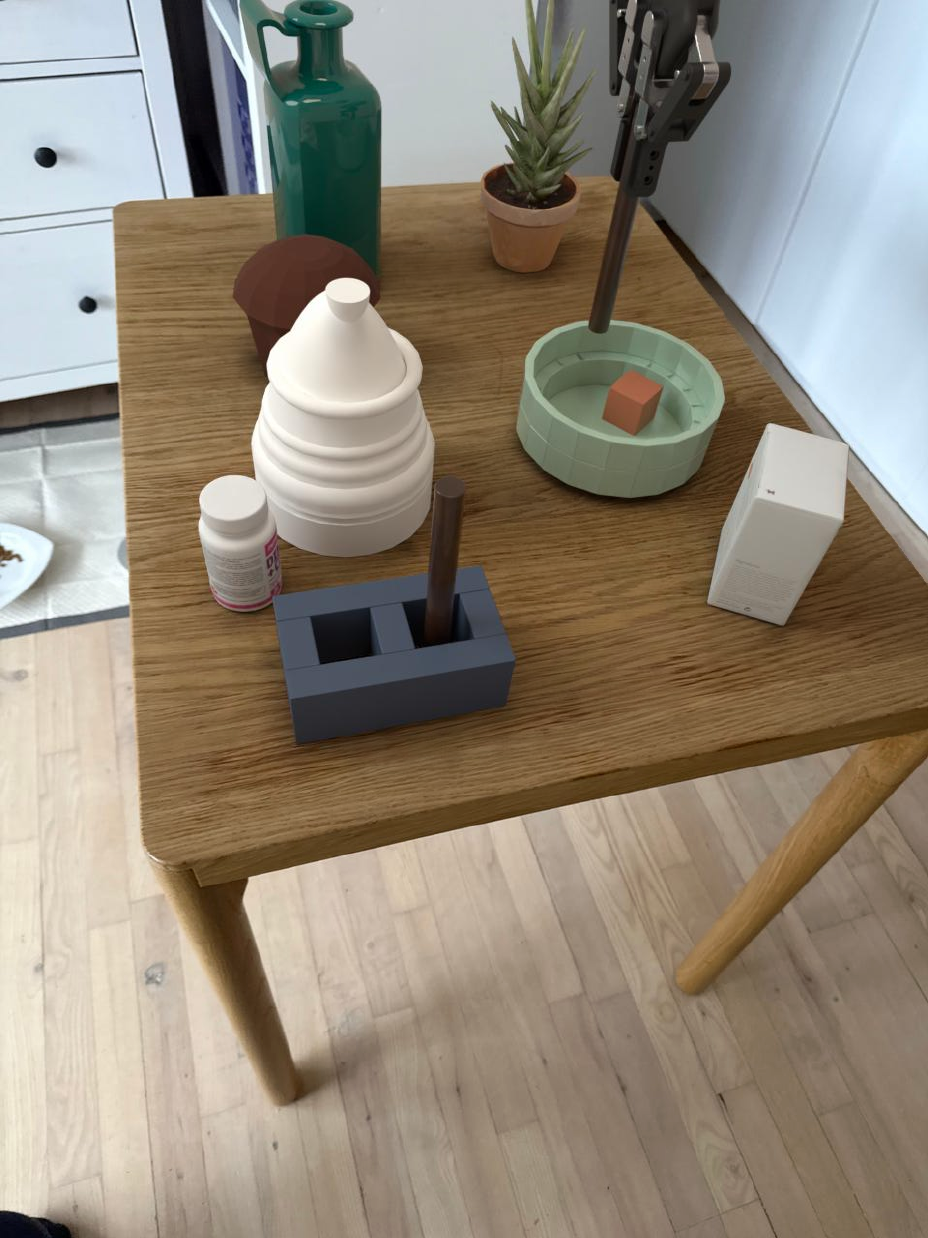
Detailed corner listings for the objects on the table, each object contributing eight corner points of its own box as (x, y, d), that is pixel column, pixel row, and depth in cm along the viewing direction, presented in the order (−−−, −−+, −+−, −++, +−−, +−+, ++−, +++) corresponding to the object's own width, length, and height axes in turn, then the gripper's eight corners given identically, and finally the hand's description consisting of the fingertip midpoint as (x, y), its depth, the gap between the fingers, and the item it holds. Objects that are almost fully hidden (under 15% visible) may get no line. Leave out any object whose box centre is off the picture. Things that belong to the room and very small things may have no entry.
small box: (782, 629, 62) (846, 523, 54) (703, 605, 63) (754, 497, 54) (793, 550, 67) (853, 442, 59) (720, 529, 68) (768, 419, 59)
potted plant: (466, 232, 91) (491, -59, 72) (555, 230, 93) (602, -55, 74) (485, 286, 85) (517, -15, 66) (579, 283, 87) (638, -12, 68)
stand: (278, 644, 58) (272, 595, 54) (474, 613, 61) (481, 564, 57) (296, 744, 53) (290, 699, 49) (506, 706, 56) (516, 660, 52)
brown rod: (599, 319, 69) (650, 100, 57) (612, 330, 69) (666, 110, 56) (583, 324, 69) (631, 103, 56) (596, 336, 68) (646, 114, 56)
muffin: (254, 408, 72) (240, 297, 64) (230, 329, 78) (215, 219, 70) (396, 388, 75) (399, 279, 67) (362, 313, 81) (361, 206, 73)
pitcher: (356, 240, 89) (352, -20, 72) (387, 285, 84) (390, 19, 67) (260, 254, 86) (231, -14, 69) (286, 302, 81) (262, 29, 64)
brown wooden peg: (437, 654, 58) (455, 471, 46) (450, 671, 57) (472, 491, 45) (416, 663, 58) (429, 481, 45) (429, 681, 57) (445, 501, 44)
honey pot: (455, 536, 65) (478, 319, 51) (280, 573, 61) (252, 351, 47) (401, 424, 72) (408, 207, 58) (242, 452, 69) (208, 227, 54)
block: (621, 400, 75) (630, 369, 72) (654, 417, 74) (664, 386, 71) (601, 418, 73) (609, 386, 71) (634, 436, 72) (643, 404, 70)
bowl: (623, 361, 80) (639, 301, 75) (740, 466, 72) (766, 407, 68) (479, 410, 74) (486, 349, 69) (590, 530, 66) (606, 470, 62)
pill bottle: (288, 607, 60) (278, 518, 53) (216, 620, 58) (196, 530, 52) (277, 555, 62) (265, 465, 56) (207, 566, 61) (187, 475, 55)
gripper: (834, -103, 43) (723, 236, 57) (716, -175, 51) (644, 137, 65) (695, -107, 42) (615, 243, 55) (595, -181, 50) (547, 141, 63)
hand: (631, 185), depth 60 cm, fingers closed on brown rod, 1 cm apart
